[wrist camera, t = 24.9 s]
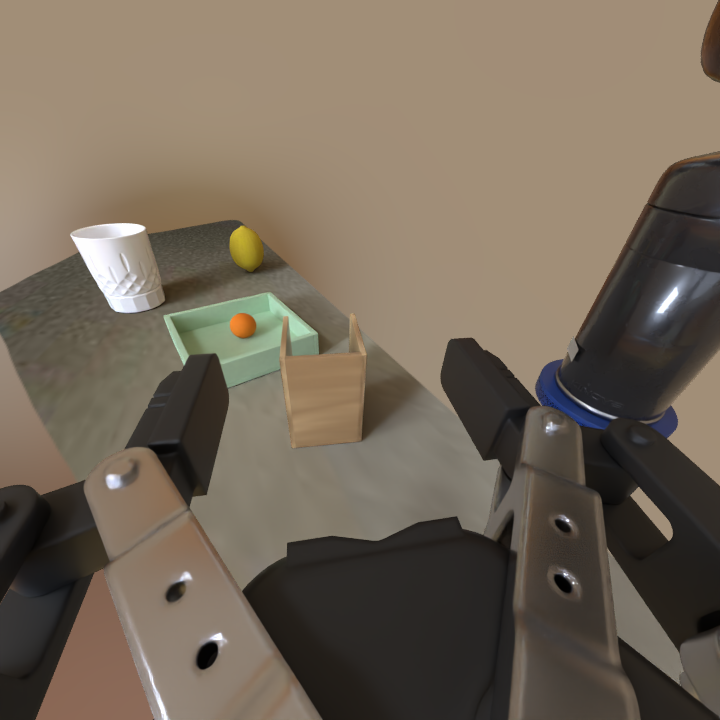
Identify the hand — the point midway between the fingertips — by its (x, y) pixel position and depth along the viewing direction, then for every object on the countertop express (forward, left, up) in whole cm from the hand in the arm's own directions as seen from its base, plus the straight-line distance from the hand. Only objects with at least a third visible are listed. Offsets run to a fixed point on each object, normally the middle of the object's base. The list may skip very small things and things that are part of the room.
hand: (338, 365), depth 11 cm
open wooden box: (-5, -10, -14) cm, 18 cm away
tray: (-3, -25, -14) cm, 29 cm away
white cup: (+6, -44, -15) cm, 47 cm away
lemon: (-12, -48, -15) cm, 52 cm away
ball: (-4, -27, -12) cm, 30 cm away
